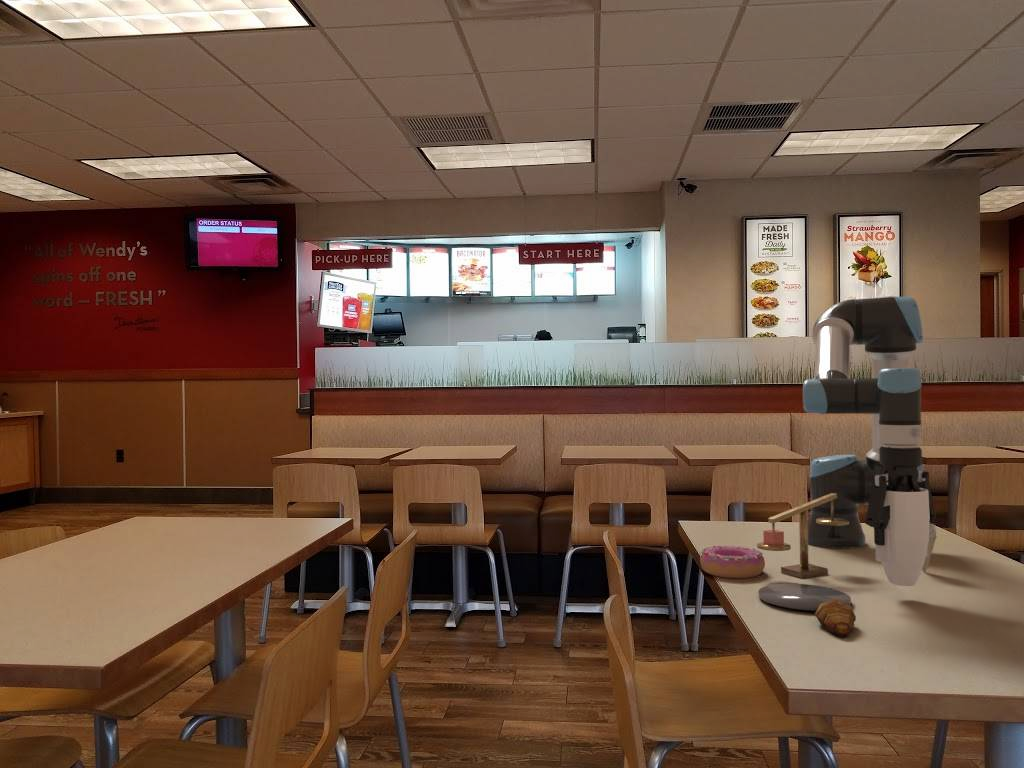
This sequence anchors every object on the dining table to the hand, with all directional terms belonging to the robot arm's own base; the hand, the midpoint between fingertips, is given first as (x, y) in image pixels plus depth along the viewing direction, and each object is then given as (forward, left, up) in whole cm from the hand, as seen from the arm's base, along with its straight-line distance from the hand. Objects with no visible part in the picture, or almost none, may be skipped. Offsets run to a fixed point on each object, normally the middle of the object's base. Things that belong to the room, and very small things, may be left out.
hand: (901, 558), depth 150 cm
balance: (-24, -1, -8) cm, 25 cm away
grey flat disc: (-8, -18, -8) cm, 21 cm away
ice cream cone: (-12, +23, -8) cm, 27 cm away
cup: (0, 0, -8) cm, 8 cm away
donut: (-33, -14, -8) cm, 37 cm away
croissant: (+6, -25, -8) cm, 27 cm away
